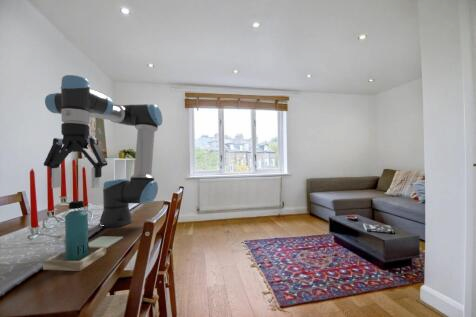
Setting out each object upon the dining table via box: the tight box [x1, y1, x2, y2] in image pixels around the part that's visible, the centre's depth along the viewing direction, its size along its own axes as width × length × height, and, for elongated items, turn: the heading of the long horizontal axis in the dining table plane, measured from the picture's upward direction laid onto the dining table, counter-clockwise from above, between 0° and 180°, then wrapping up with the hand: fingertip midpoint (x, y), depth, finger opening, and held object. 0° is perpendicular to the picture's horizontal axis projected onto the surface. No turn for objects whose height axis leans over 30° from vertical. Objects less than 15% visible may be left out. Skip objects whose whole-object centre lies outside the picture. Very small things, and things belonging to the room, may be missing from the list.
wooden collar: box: [42, 246, 107, 272], centre depth 73 cm, size 12×12×2 cm
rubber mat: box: [88, 235, 124, 249], centre depth 89 cm, size 11×10×1 cm
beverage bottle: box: [64, 200, 90, 261], centre depth 73 cm, size 6×7×20 cm
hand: (75, 187), depth 73 cm, fingers open, 13 cm apart
